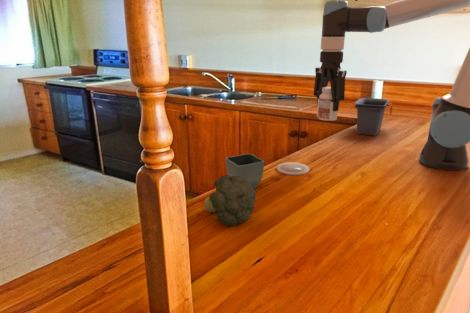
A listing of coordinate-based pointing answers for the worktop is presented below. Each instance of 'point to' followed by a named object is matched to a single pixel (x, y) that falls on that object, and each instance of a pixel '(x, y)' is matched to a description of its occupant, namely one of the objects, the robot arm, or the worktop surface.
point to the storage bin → (370, 115)
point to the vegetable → (231, 200)
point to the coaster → (293, 168)
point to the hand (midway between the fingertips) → (326, 118)
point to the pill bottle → (325, 103)
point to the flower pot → (246, 168)
